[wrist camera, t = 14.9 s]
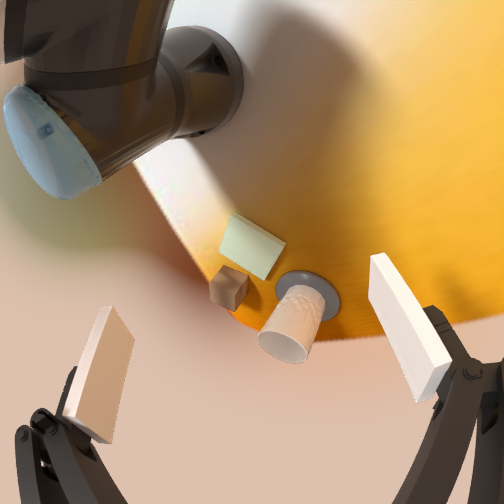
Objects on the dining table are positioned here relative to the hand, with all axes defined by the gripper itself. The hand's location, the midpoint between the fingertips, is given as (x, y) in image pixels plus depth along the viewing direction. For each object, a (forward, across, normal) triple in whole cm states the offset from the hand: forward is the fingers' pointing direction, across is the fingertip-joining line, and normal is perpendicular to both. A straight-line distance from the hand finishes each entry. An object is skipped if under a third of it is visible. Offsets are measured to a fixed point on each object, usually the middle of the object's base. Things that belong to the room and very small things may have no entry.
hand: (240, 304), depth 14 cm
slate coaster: (+25, +6, -24) cm, 36 cm away
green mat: (+29, -1, -15) cm, 33 cm away
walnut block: (+33, -5, -24) cm, 41 cm away
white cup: (+25, +6, -24) cm, 35 cm away
